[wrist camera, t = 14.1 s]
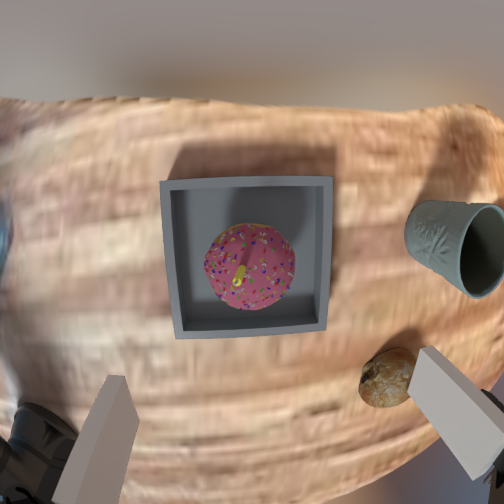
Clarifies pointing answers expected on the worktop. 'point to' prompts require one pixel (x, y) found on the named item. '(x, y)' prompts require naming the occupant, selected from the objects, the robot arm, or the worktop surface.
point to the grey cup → (459, 243)
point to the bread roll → (387, 378)
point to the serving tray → (237, 212)
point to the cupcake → (250, 266)
